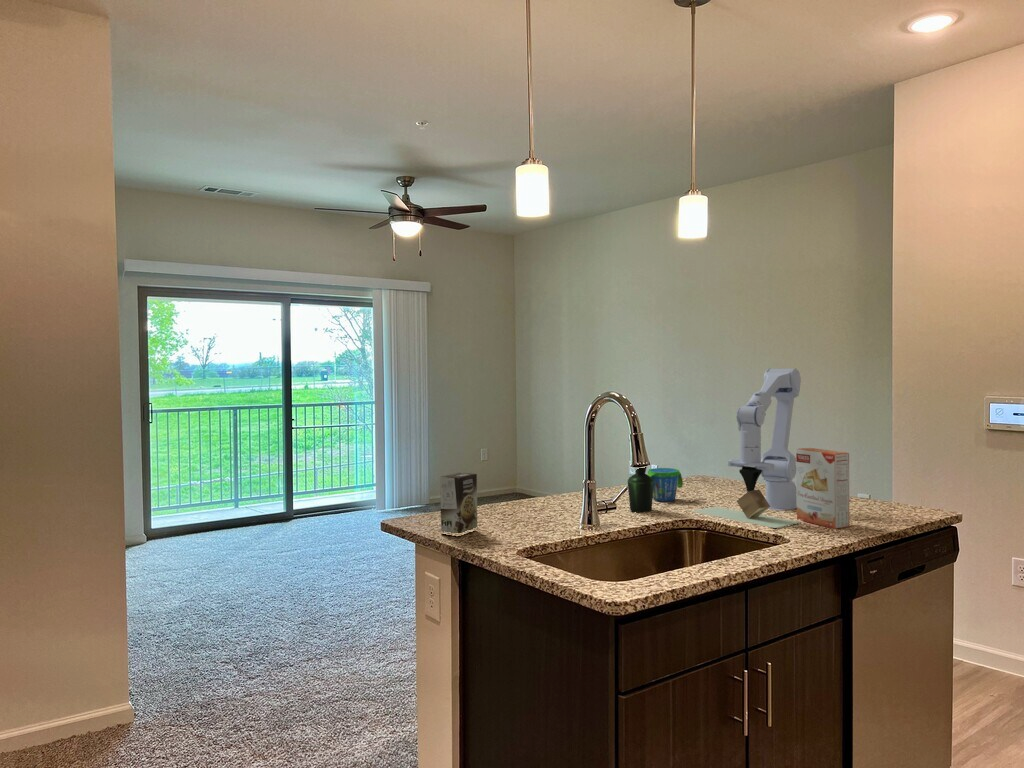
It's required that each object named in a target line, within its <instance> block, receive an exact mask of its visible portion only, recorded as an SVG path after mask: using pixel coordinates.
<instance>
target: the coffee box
mask: <svg viewBox="0 0 1024 768" xmlns="http://www.w3.org/2000/svg"><path fill="white" fill-rule="evenodd" d="M477 476H478V474H477V473H473V472H471V473H470V472H469V473H468V472H457V473H451V474H447V475H442V476H440V532H441V531H445V532H451V533H462V532H465V531H467V530H471V529H473V528H476V527H477V528H478V481H477V480H478V477H477Z"/></svg>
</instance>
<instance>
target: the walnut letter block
mask: <svg viewBox="0 0 1024 768" xmlns="http://www.w3.org/2000/svg"><path fill="white" fill-rule="evenodd" d="M736 503H737V505H738V506H739V507H740V509H741V510H742V511H743V512H744V514H745V515H746V517H747V519H748V518H753V517H758V516H760V515H763V513H765V512H766V511H767V510H769V509H768V508H770V505H769V503H768V502H767V500H766V496H764V494H763V493H762V491H761V490H760V488H757V489H754V490H752V491H748V492H747V491H746V492H745V493H744V494H743V495H742V496H741V497H740V498H738V499H737V500H736Z"/></svg>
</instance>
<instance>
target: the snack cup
mask: <svg viewBox="0 0 1024 768" xmlns="http://www.w3.org/2000/svg"><path fill="white" fill-rule="evenodd" d="M647 475H648V476H650V477H651V478H652V479H653V480H654V487H653V500H654V499H655V500H654V501H656V500H659V501H658V502H672V501H675V500H676V496H677V491H678V489H681V488H683V485H684V483H683V482H684V481H683V477H682V474H681V472H680V469H678V468H673V467H672V468H670V467H658V468H657V467H654V468H649V469H647ZM677 488H678V489H677Z"/></svg>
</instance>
